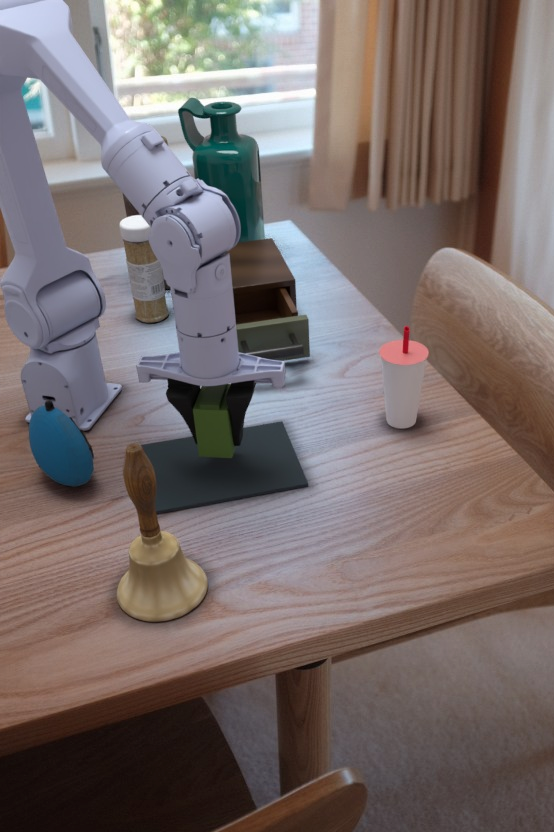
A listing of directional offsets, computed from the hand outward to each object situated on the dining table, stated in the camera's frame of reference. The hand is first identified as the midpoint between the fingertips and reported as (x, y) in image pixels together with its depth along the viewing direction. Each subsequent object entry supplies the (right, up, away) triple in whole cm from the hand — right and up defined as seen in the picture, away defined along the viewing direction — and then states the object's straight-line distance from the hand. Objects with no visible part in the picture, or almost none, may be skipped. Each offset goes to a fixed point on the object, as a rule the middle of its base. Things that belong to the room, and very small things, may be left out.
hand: (219, 439), depth 95 cm
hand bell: (-4, -15, -12) cm, 19 cm away
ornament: (-16, -4, +1) cm, 17 cm away
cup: (+20, +3, +9) cm, 22 cm away
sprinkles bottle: (-13, +19, +29) cm, 37 cm away
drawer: (+3, +13, +20) cm, 24 cm away
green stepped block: (0, 0, 0) cm, 1 cm away
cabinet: (0, +20, +29) cm, 35 cm away
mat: (0, -3, +2) cm, 3 cm away
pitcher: (-4, +32, +43) cm, 54 cm away
